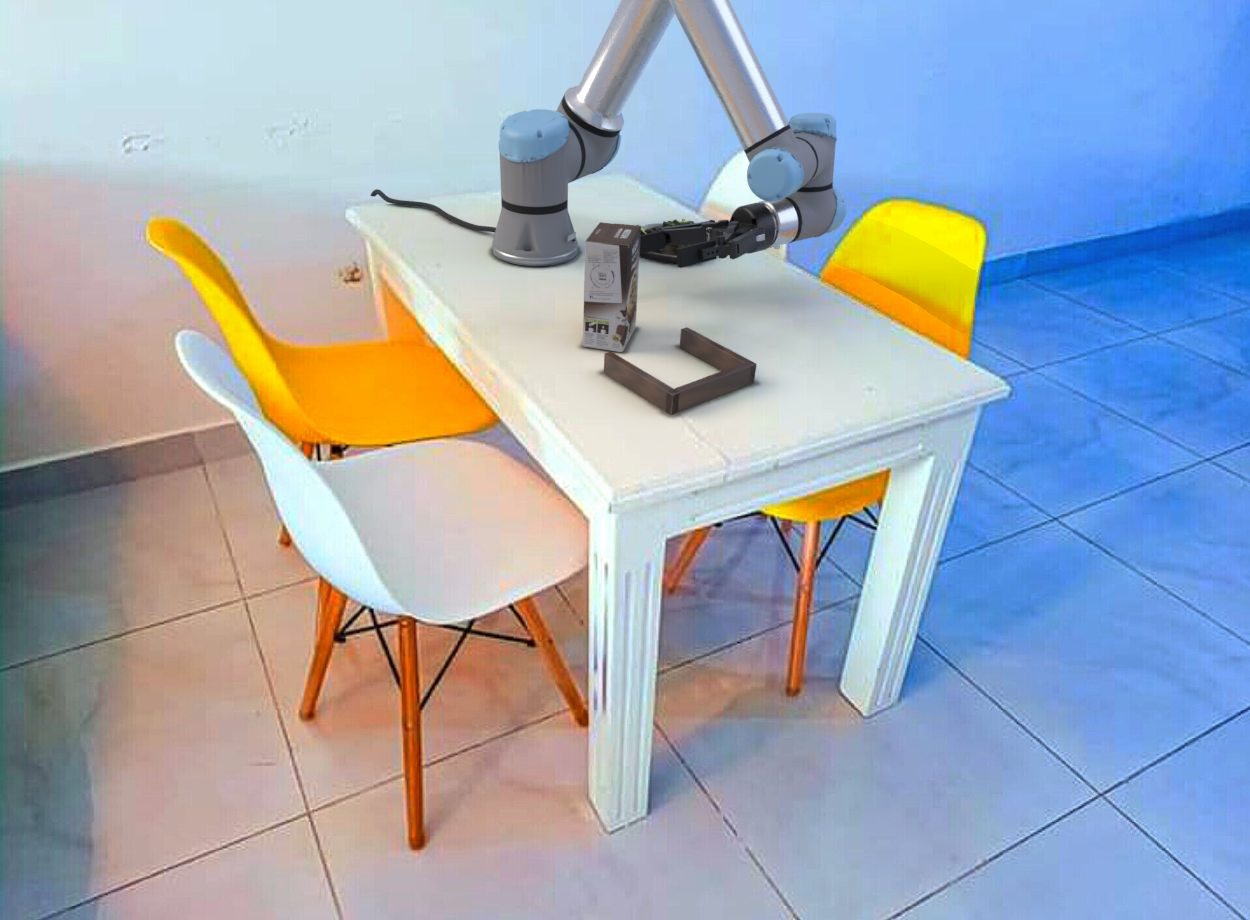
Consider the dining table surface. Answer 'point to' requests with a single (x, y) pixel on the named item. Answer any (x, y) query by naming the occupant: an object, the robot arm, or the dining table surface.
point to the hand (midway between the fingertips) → (652, 252)
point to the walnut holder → (675, 400)
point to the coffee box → (611, 286)
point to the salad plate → (669, 251)
